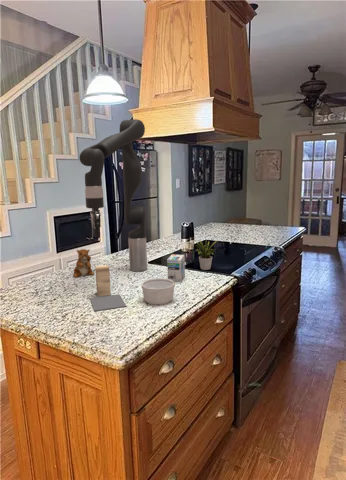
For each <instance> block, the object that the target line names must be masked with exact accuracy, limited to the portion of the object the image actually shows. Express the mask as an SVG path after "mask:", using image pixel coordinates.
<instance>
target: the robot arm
mask: <svg viewBox="0 0 346 480" xmlns="http://www.w3.org/2000/svg"><path fill="white" fill-rule="evenodd" d="M145 126H146V125H145V124H144V122H143V121H142V120H140V119H137V118H136V119H124V120H122V121H121V122H120V124H119V132H118V133H115V134H112V135H108V136H107V137H105V138H104V139H102V140H100V141H99V142H98V143H96V144H93V145H91V146H89V147H86V148H85V149H83V150H81V152H80V153H79V162H80V163H81V164H82V165H83V166H86V167H90V170H89V171H88V172H85V174H84V184H85V185H84V186H85V189H84V194H85V195H84V197H85V207H86V209H91V211H90V220H91V225H92V232H93V236H94V237H95V238H99V237H101V229H100V228H101V227H102V224H101V215H102V214H101V212H100V210H99V209H103V208H104V205H105V201H104V189H103V181H102V179H103V178H102V175H103V172H104V166H105V159H106V158H108V157H110V156H112V154H114V153H115V152H117V151H118V150H120V149H121V152H122V154H121V155H122V173H123V175H122V177H123V188H124V190H123V191H124V215H123V216H124V221H125V224H126V225H129V226H133V225H139V226H138V227H136V228H135V229H133V230H131V231H129V232H128V233H127V235H128V236H127V238H128V258H129V260H128V261H129V271H131V272H144V271H147V270H148V255H147V253H148V251H147V248H148V247H147V230H146V229H147V227H146V226H147V225H146V224H147V222H146V221H147V211H146V208H145V206H132V205H131V204H132V201H133V198H134V196H135V194H136V192H137V191H138V189H139V187H140V185H141V184H142V181H143V172H142V171H143V170H142V168H143V167H142V164H141V162H140V160H139V159H138V157H137V156H136V153H135V152H134V147H133V142H135V141H137V140H140V139H142V138H143V137H144V136H145V132H146V127H145Z"/></svg>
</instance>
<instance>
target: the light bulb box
mask: <svg viewBox="0 0 346 480" xmlns="http://www.w3.org/2000/svg"><path fill="white" fill-rule="evenodd" d="M185 255H186V254H171V255H170V256H169V257H168V258H167V259H166V261H167V265H166V267H167V279H169V280H172V281H174V283H182V282H183V280H184V278H185V277H186V269H185V268H186V266H185V265H186V258H185Z"/></svg>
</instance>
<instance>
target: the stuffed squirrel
mask: <svg viewBox="0 0 346 480" xmlns="http://www.w3.org/2000/svg"><path fill="white" fill-rule="evenodd" d="M90 251H91V250H90V249H85V248H84V249H76V253H77V254H78V256H77V257H78V259H77V261H76V264H75V267H74V269H73V278H78V277H81V276H82V277H84V276H94V275H95V272H94V271H93V268H91V267H92V264H91V259H92V256H91V255H89V252H90Z"/></svg>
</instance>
